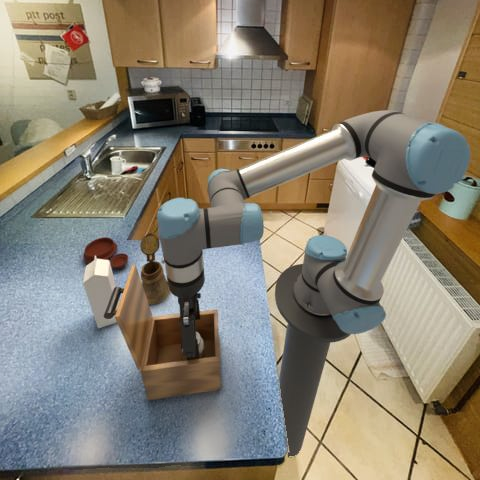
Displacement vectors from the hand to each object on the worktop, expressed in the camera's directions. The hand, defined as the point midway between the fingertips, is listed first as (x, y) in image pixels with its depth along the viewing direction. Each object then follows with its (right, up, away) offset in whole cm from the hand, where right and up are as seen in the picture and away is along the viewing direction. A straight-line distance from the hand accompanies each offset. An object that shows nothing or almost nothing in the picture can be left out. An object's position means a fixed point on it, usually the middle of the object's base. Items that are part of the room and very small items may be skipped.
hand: (194, 337), depth 60 cm
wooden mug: (-18, -1, +25) cm, 31 cm away
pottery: (-40, +5, +36) cm, 54 cm away
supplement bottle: (-1, -10, +4) cm, 10 cm away
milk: (-29, -5, +16) cm, 33 cm away
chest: (-3, -10, +4) cm, 12 cm away
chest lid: (-11, +9, -6) cm, 15 cm away
